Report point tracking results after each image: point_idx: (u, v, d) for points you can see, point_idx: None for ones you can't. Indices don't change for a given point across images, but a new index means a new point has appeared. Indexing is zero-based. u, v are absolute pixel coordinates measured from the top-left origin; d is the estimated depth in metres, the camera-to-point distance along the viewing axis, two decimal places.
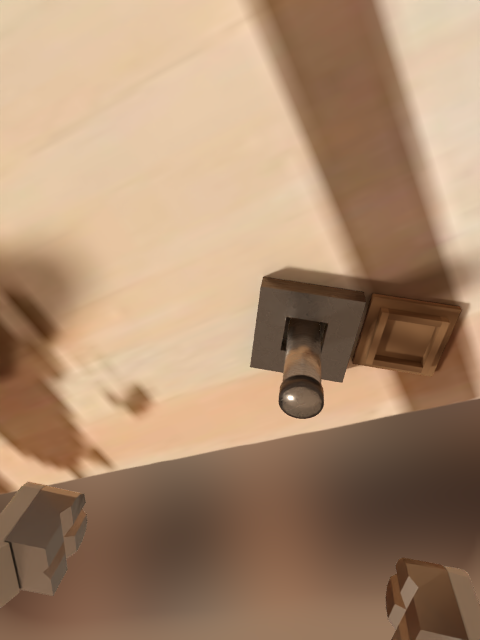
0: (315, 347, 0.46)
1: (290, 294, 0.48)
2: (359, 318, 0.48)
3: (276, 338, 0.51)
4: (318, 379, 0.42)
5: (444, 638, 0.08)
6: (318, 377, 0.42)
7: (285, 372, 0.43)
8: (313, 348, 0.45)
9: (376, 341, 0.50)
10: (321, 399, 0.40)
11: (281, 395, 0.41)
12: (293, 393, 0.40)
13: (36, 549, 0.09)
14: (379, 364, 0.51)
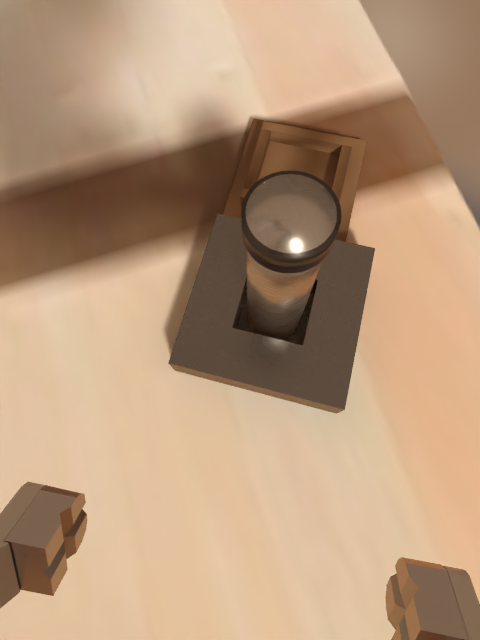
0: None
1: (190, 317, 0.29)
2: None
3: (276, 349, 0.28)
4: None
5: (444, 638, 0.08)
6: None
7: (262, 276, 0.21)
8: None
9: None
10: (282, 174, 0.19)
11: (270, 249, 0.18)
12: (264, 224, 0.18)
13: (36, 549, 0.09)
14: None
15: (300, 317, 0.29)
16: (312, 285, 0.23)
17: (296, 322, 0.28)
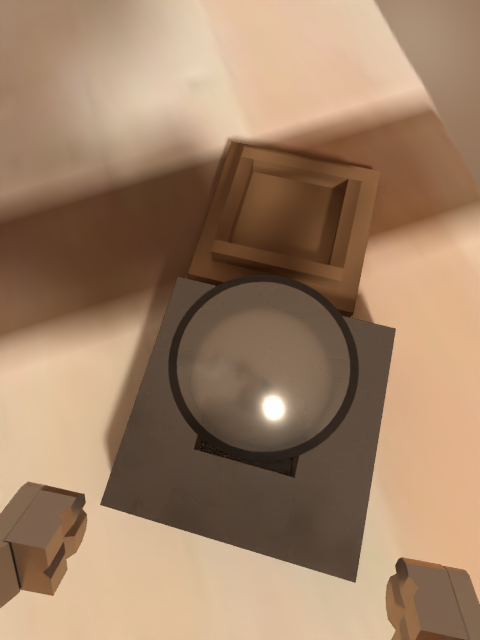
0: None
1: (134, 432, 0.20)
2: None
3: (256, 484, 0.19)
4: None
5: (444, 638, 0.08)
6: None
7: None
8: None
9: (281, 260, 0.24)
10: (247, 281, 0.10)
11: (220, 443, 0.09)
12: (211, 388, 0.09)
13: (36, 549, 0.09)
14: (342, 254, 0.24)
15: None
16: None
17: None
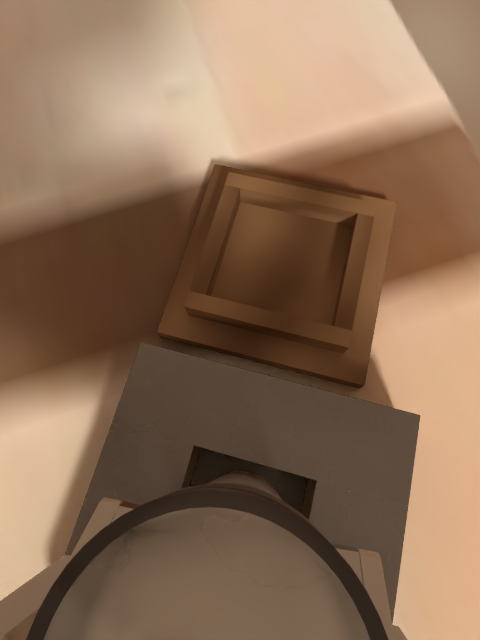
0: None
1: None
2: (187, 358, 0.18)
3: None
4: None
5: None
6: None
7: None
8: None
9: (272, 319, 0.19)
10: (183, 505, 0.05)
11: None
12: None
13: None
14: (350, 311, 0.19)
15: None
16: None
17: None
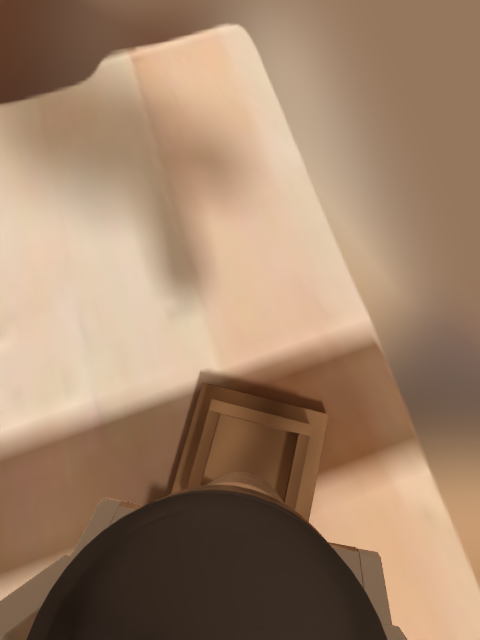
0: None
1: None
2: None
3: None
4: None
5: None
6: None
7: None
8: None
9: None
10: (182, 508, 0.05)
11: None
12: None
13: None
14: None
15: None
16: None
17: None
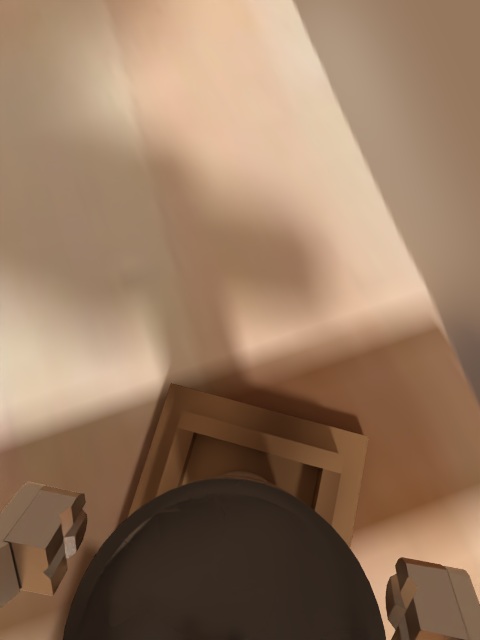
0: None
1: None
2: None
3: None
4: None
5: (444, 638, 0.08)
6: None
7: None
8: None
9: None
10: (203, 491, 0.06)
11: None
12: None
13: (36, 549, 0.09)
14: None
15: None
16: None
17: None
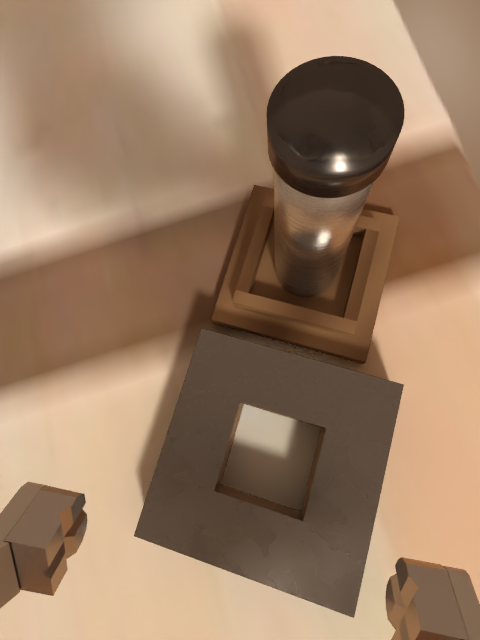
0: None
1: (162, 473, 0.23)
2: (235, 341, 0.25)
3: (269, 525, 0.22)
4: None
5: (444, 638, 0.08)
6: None
7: (293, 207, 0.16)
8: None
9: (297, 312, 0.25)
10: (323, 61, 0.14)
11: (304, 161, 0.13)
12: (297, 128, 0.13)
13: (36, 549, 0.09)
14: (356, 306, 0.25)
15: (338, 268, 0.24)
16: (356, 223, 0.19)
17: (333, 274, 0.24)
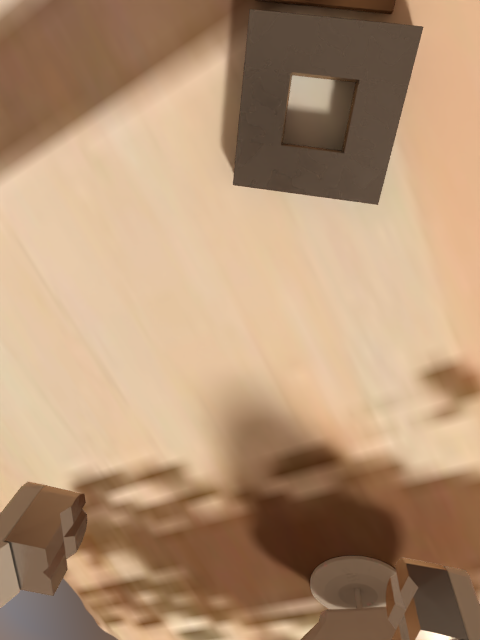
0: None
1: (242, 140, 0.33)
2: (280, 15, 0.29)
3: (321, 160, 0.33)
4: None
5: (444, 638, 0.08)
6: None
7: None
8: None
9: None
10: None
11: None
12: None
13: (36, 549, 0.09)
14: None
15: None
16: None
17: None
